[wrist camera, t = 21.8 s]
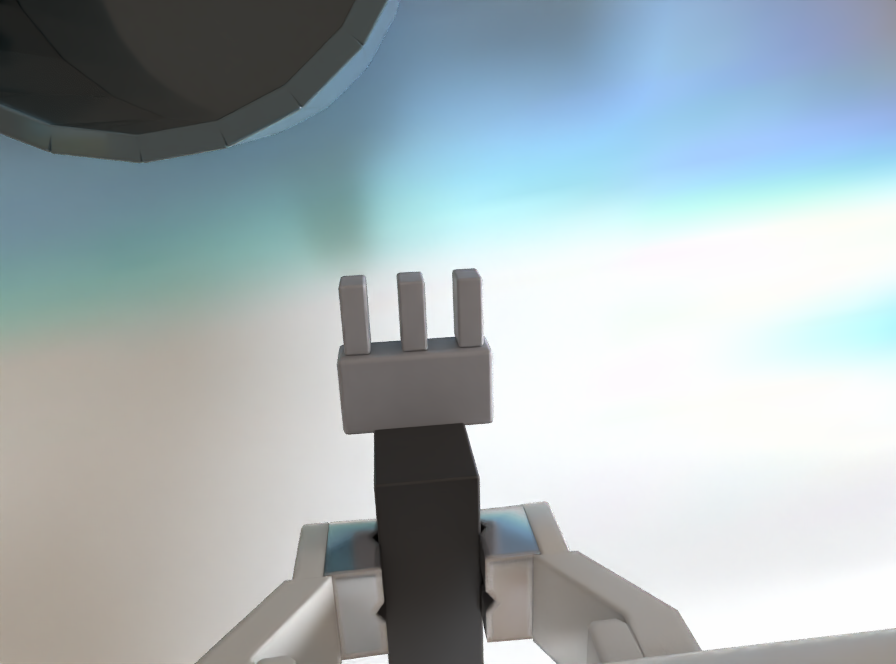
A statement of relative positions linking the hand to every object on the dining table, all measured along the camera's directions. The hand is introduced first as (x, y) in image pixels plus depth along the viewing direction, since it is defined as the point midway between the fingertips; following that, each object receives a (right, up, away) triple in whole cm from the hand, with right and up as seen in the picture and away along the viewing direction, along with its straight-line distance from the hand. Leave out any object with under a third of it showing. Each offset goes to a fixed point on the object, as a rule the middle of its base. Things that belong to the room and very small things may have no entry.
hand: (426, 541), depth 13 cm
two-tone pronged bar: (0, +1, +2) cm, 2 cm away
